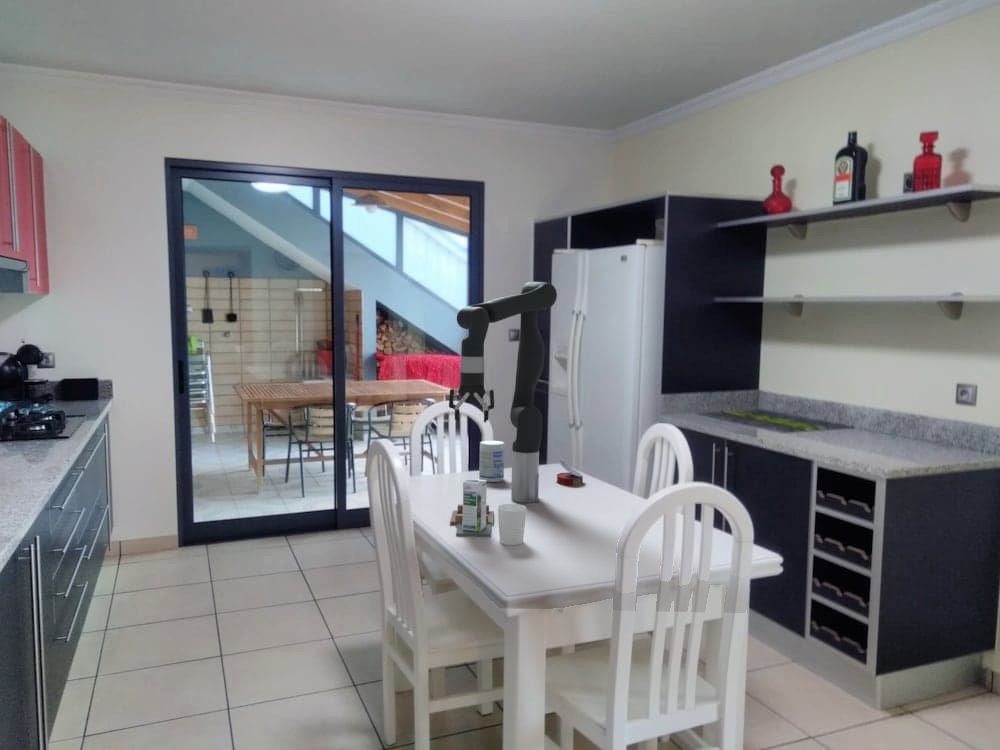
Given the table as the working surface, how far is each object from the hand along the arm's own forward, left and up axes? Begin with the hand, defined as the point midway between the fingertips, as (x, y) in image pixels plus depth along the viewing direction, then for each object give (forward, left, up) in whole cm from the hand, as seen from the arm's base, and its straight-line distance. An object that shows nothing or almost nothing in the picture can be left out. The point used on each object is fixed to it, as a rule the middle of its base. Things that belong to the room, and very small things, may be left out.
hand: (471, 421), depth 230 cm
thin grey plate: (-2, +17, -30) cm, 35 cm away
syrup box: (-2, +17, -30) cm, 34 cm away
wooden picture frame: (-1, +5, -30) cm, 31 cm away
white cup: (-13, +26, -30) cm, 42 cm away
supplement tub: (-6, -48, -30) cm, 57 cm away
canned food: (-36, -46, -30) cm, 66 cm away
